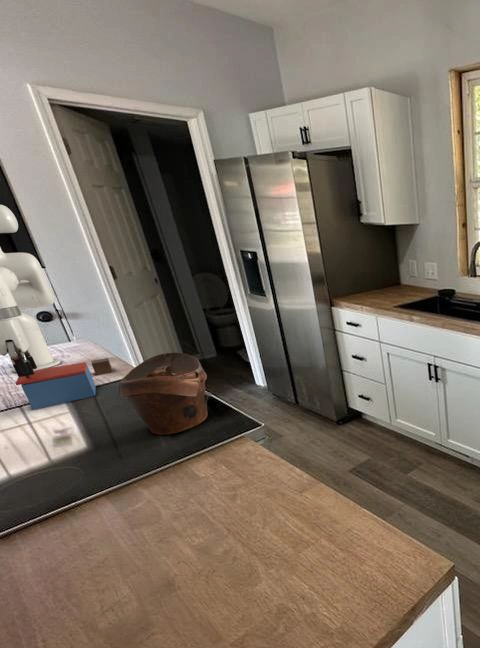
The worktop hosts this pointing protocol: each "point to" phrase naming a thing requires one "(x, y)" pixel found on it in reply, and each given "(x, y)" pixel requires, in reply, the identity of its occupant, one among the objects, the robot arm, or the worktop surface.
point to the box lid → (53, 373)
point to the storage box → (59, 390)
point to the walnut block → (102, 366)
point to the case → (167, 392)
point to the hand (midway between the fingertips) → (28, 372)
